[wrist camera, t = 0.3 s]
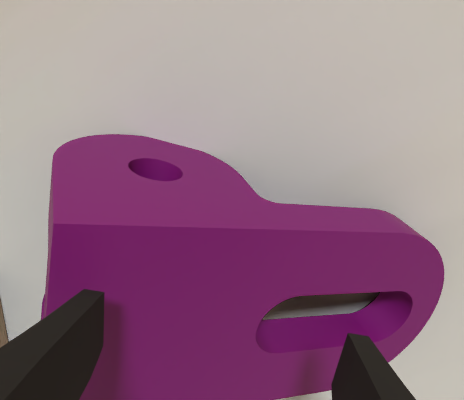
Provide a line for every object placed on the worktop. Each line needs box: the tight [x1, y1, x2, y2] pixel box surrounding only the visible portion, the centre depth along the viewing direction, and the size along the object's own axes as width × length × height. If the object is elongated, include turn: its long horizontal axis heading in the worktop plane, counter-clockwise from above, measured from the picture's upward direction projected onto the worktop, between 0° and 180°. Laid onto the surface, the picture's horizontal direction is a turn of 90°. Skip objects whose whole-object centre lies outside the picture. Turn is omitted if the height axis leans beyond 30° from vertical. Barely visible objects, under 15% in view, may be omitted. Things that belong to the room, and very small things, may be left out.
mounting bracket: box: [41, 134, 444, 400], centre depth 21 cm, size 9×8×18 cm
